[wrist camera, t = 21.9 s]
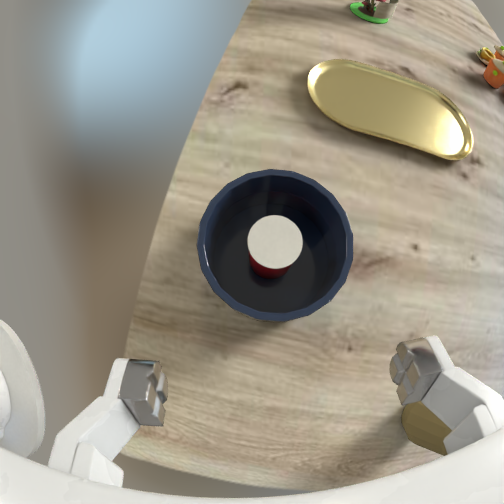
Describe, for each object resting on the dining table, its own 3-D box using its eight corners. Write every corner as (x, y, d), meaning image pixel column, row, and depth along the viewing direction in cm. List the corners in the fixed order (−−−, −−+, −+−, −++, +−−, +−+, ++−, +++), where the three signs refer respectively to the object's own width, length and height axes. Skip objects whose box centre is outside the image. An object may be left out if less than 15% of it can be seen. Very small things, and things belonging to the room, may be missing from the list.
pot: (223, 334, 38) (215, 337, 29) (198, 214, 42) (186, 186, 33) (345, 303, 39) (370, 297, 30) (313, 190, 43) (326, 159, 34)
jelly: (253, 284, 39) (254, 274, 31) (244, 241, 40) (242, 221, 32) (297, 274, 39) (308, 261, 31) (286, 232, 41) (294, 210, 33)
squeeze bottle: (434, 379, 36) (516, 396, 18) (440, 422, 34) (515, 452, 17) (389, 402, 35) (465, 438, 18) (398, 446, 34) (465, 493, 16)
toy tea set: (522, 114, 50) (540, 97, 40) (484, 87, 51) (501, 66, 41) (503, 64, 56) (516, 47, 46) (468, 40, 57) (480, 21, 47)
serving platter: (309, 56, 50) (310, 50, 48) (459, 105, 48) (463, 101, 47) (301, 123, 45) (302, 117, 44) (475, 175, 44) (479, 172, 42)
